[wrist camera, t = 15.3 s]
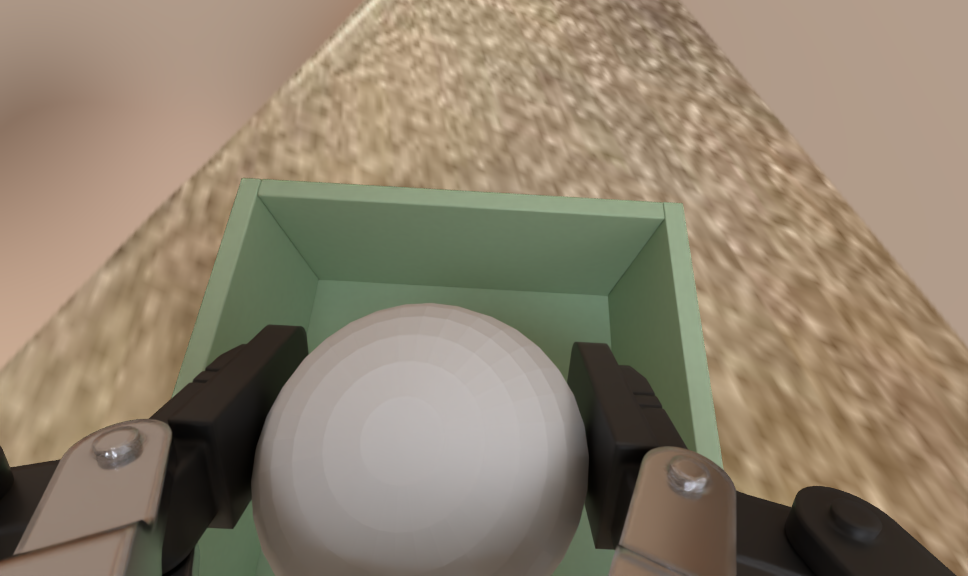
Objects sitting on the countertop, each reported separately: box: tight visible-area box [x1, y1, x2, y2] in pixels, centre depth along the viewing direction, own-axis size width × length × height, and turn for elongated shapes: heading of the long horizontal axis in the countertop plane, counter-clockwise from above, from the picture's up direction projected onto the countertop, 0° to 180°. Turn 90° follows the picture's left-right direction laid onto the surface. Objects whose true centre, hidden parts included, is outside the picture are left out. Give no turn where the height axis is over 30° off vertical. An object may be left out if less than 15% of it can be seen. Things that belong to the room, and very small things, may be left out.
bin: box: [171, 178, 723, 576], centre depth 18 cm, size 18×20×9 cm
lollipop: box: [251, 303, 589, 576], centre depth 13 cm, size 6×6×15 cm
